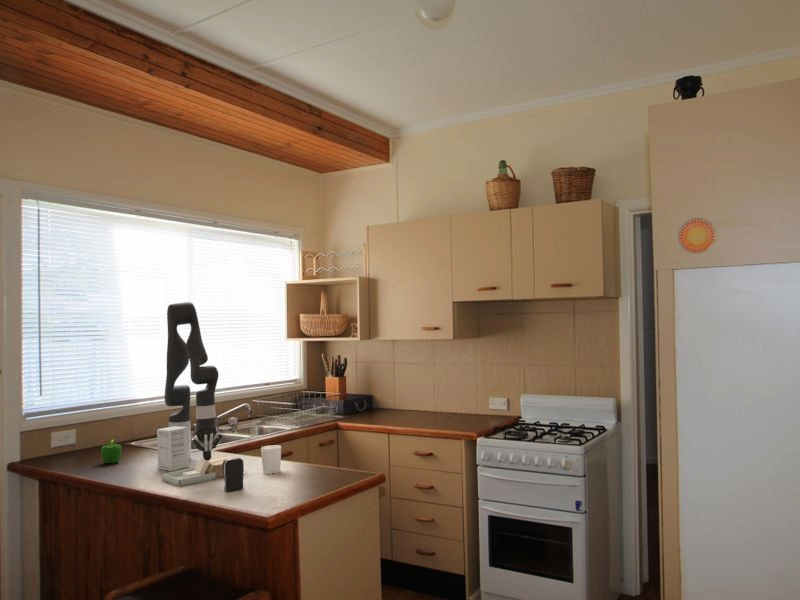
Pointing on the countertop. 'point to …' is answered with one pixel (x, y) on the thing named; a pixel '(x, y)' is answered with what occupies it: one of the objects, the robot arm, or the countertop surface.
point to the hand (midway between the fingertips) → (207, 460)
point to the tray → (179, 481)
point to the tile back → (202, 466)
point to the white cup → (271, 458)
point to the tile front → (190, 474)
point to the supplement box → (173, 448)
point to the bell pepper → (111, 452)
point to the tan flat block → (217, 466)
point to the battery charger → (233, 474)
